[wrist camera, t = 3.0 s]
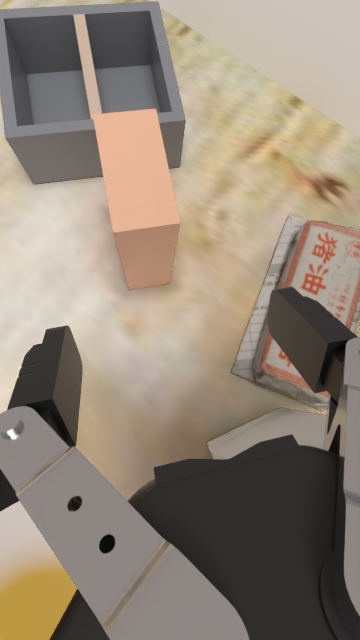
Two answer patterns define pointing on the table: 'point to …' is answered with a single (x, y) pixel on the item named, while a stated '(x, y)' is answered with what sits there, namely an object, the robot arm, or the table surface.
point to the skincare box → (271, 432)
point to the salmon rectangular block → (139, 195)
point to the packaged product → (309, 280)
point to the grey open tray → (83, 82)
